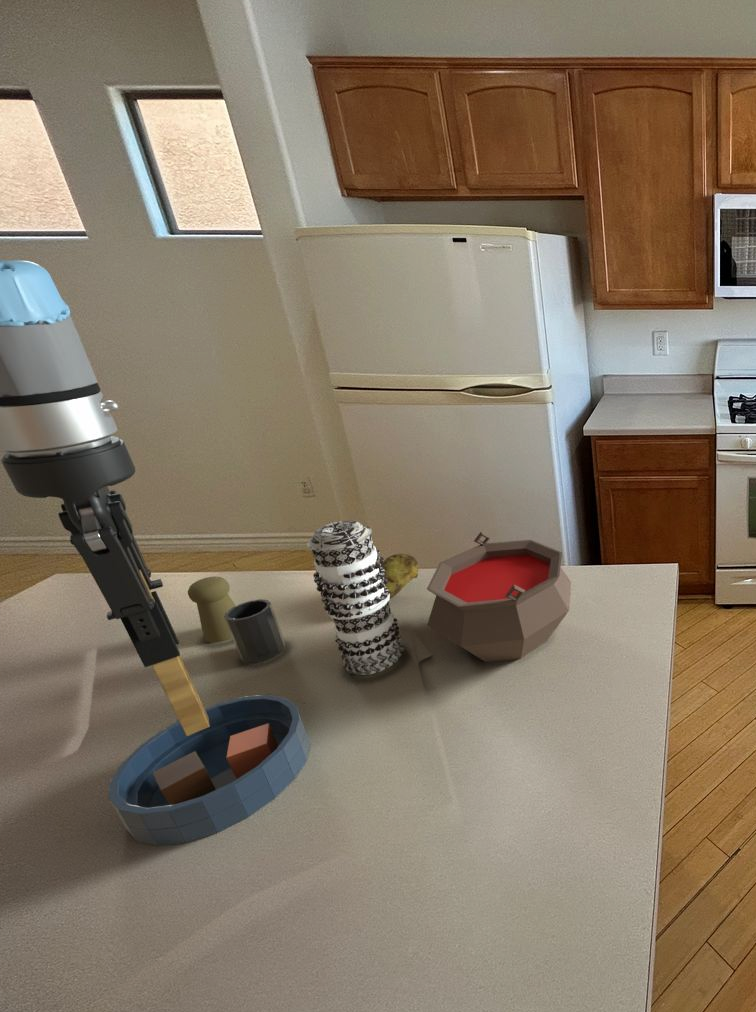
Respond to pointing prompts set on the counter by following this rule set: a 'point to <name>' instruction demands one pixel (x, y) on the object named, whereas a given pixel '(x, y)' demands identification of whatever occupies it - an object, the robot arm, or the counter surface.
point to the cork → (212, 607)
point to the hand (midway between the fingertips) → (162, 653)
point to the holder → (255, 631)
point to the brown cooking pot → (500, 598)
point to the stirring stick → (181, 692)
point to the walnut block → (184, 779)
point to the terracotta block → (250, 749)
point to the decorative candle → (356, 596)
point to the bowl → (209, 772)
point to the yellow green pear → (399, 571)
